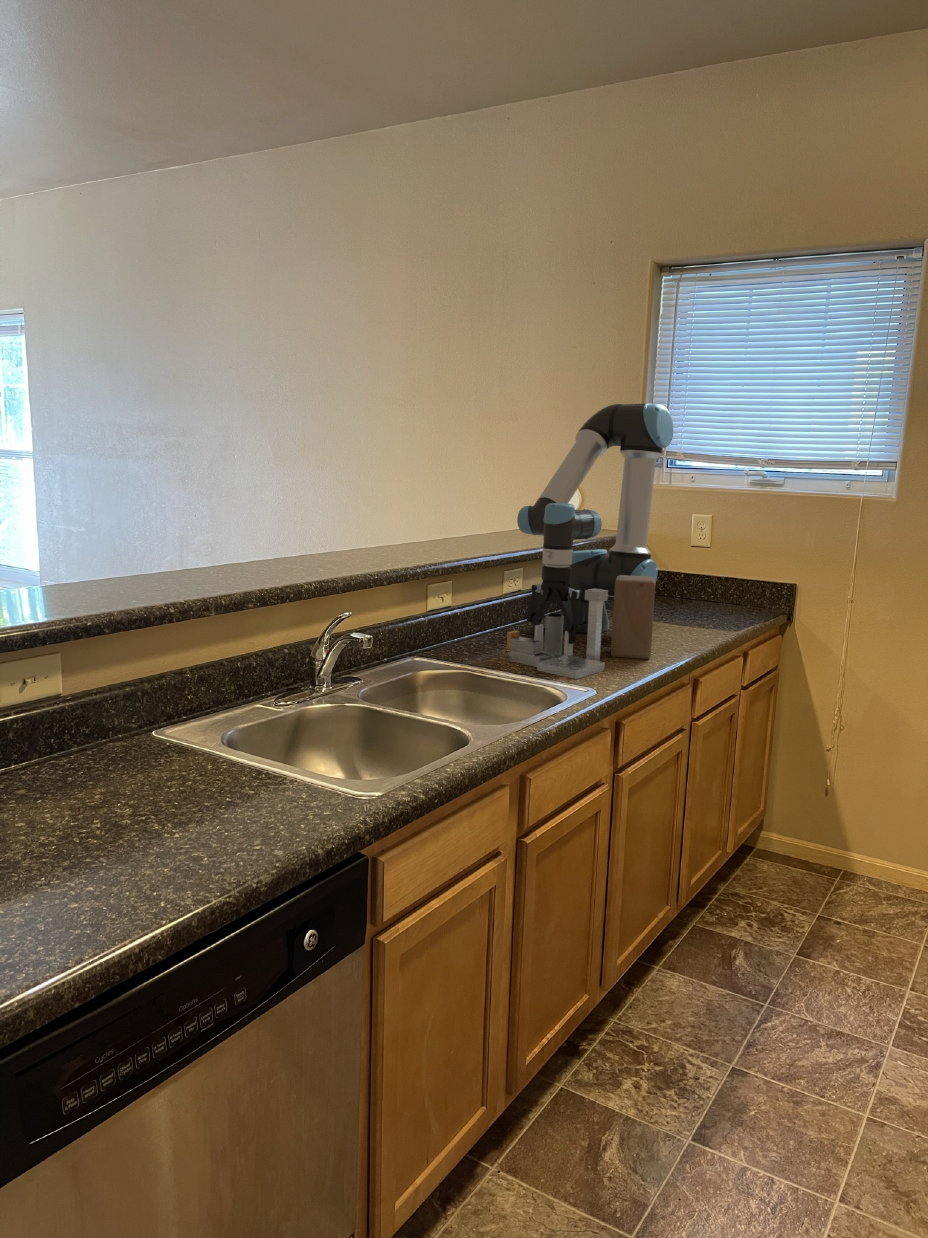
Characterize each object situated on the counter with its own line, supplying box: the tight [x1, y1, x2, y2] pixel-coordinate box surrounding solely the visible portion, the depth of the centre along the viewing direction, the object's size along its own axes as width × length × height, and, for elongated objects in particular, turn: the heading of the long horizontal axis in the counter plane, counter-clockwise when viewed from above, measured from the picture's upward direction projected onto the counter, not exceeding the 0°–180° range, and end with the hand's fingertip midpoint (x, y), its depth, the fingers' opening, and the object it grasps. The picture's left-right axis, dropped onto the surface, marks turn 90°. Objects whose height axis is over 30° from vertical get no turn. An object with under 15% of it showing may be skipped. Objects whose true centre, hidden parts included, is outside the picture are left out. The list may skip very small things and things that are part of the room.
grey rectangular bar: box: [506, 630, 543, 655], centre depth 226 cm, size 3×8×4 cm, turn 49°
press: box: [509, 588, 609, 680], centre depth 222 cm, size 18×22×18 cm
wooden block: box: [610, 575, 656, 660], centre depth 235 cm, size 10×10×20 cm
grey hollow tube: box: [543, 612, 564, 657], centre depth 233 cm, size 4×4×10 cm
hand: (553, 652), depth 234 cm, fingers open, 9 cm apart
